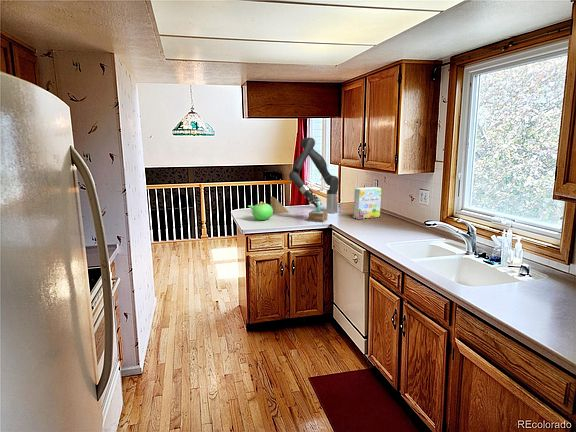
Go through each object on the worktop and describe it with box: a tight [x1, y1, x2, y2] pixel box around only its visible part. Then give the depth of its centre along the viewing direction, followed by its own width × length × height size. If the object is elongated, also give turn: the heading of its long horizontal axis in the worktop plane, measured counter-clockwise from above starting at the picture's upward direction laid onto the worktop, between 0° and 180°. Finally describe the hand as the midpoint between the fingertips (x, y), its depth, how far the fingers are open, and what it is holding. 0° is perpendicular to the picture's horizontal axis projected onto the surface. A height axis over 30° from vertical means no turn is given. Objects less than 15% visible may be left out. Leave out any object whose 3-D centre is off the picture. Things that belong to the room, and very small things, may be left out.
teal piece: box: [312, 198, 325, 213], centre depth 323 cm, size 8×8×12 cm
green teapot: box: [247, 201, 274, 221], centre depth 327 cm, size 18×17×15 cm
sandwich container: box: [270, 196, 290, 215], centre depth 357 cm, size 9×15×15 cm, turn 117°
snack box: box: [352, 186, 383, 220], centre depth 331 cm, size 22×9×26 cm, turn 112°
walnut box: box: [308, 209, 329, 223], centre depth 325 cm, size 12×12×7 cm
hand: (319, 205), depth 323 cm, fingers open, 8 cm apart
